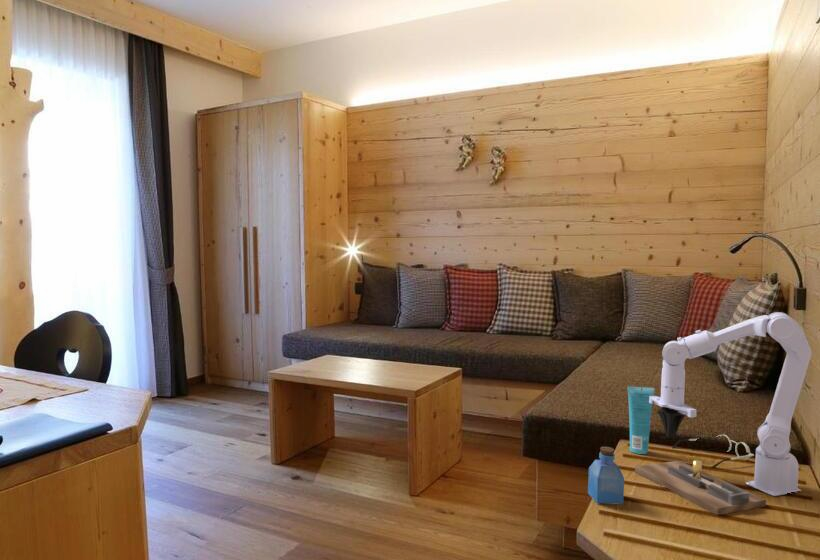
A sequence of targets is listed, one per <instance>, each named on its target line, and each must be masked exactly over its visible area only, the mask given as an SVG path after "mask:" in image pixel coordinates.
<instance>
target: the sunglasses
mask: <svg viewBox="0 0 820 560" xmlns="http://www.w3.org/2000/svg"><path fill="white" fill-rule="evenodd" d="M718 436H720V437H722V436H724V437H725V438H727V440H728V442H729V447H728V450H727V451H726V452H730V451H731V450H732V443H734V444H735V454H736V456H735V457H731V458H727V459H722V460H720V461H718V462H717V463H716V464H714V465H711V467H710V468H711V469H714V468H716V467H718V466H719V465H720V464H722V463H723V462H727V461H731V460H732V461H735V460H741V459H744V461H749V459H750V458H751V457H754V456H755V454H754V453H751V450H750V449H751V448H750V446H749V445H747V443H745V442H743V441H740V442H736V441H734V440H732V439H730V437H729V436H728V435H726V434H719V435H717V436H716V437H718ZM697 439H698V438H689V439H688V438H687V439H679V440H678V441H677V442H676V443H675V444H674V445H673V446H672V447H671V449H676V447H677V446H678V445H679V443H681V442H689V441H690V442H691V441H692V442H693V441H695V442H696V440H697ZM739 444H742V445H743V446H744V447H745V451H746V453H748V454H746V455H741V456H740V454H739V452H738V446H739Z"/></svg>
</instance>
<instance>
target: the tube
mask: <svg viewBox="0 0 820 560" xmlns="http://www.w3.org/2000/svg"><path fill="white" fill-rule="evenodd" d="M655 390H656V389H655V387H642V386H641V387H640V386H639V387H638V386H629V385H628V386H627V395H628V417H629V419H628V420H629V451H630V453H631V452H632V453H634V454H637V455H647V454H648V452H649V444H650V443H649V442H650V432H651V431H650V430H651V417H652V409H653V408H652V407H653V404H651V403H649V396H655Z"/></svg>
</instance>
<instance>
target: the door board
mask: <svg viewBox="0 0 820 560" xmlns="http://www.w3.org/2000/svg"><path fill="white" fill-rule="evenodd" d="M634 472H635V473H636V474H638V475H640V476H642V477H643V478H646V479H648V480H649V481H651V482H653V483H655V484H657V483H658V484H657V485H659V484H660V485H659V486H661V485H663V486H665V487H667V488H668V489H670V490H671V491H670V490H669V491H670V492H672V493H674V494H677V495H678V496H680V497H682V498H684V499H685V500H687V501H689V502H691V503H693V504H695V505H696V506H699V507H701V508H703V509H704V510H706V511H707V512H711V513H712V514H714V515H715V516H720V515H724V514H725V515H727V514H730V513H735V512H740V511H741V512H742V511H747V510H751V509H757V508H758V509H759V508H763V507H766V505H767V499H766V498H763V497H761V496H759V495H756V494H754V493H751V492H750V491H747V490H745V489H743V488H740V487H739V486H736V485H735V484H732V483H730V482H727V481H725V480H723V479H721V478H719V477H716V476H715V475H712V474H710V473H708V472H706V471H703V470H702V472H701V477H702V478H704V479H706V480H708V481H710V482H712V483H715V484H717V485H719V486H721V487H723V488H725V489H727V490H730V491H732V492H734V494H731V493H729V492H727V491H725V490H723V489H721V488H719V487H717V486H714V485H708V489H706V488H704V487H702V481H700V480H698V479H696V478H694V477H692V476H690V475H688V474H692V472H693V465H690V464H687V463H686V462H684V461H683V460H682V461H681V460H674V461H666V462H665V461H664V462H660V463H659V462H658V463H652V464H645V465H638V466H635V470H634ZM663 486H662V487H663ZM668 489H667V490H668Z"/></svg>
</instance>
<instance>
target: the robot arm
mask: <svg viewBox="0 0 820 560" xmlns="http://www.w3.org/2000/svg"><path fill="white" fill-rule="evenodd" d="M767 333H768V335H769V336H770V337H771V338H772V339H774V340H775V341H776V342H778V343H779V344H780V346H781V347H782V349H783V350H784V351H785V352H786V356H785V359H784V362H783V364H782V365H783V366H782V368H781V373H780V375H779V378H778V382H777V385H776V389H775V392H774V396H773V397H772V398H773V399H772V402H771V405H770V408H769V409H770V410H769V413H768V414H767V415H766V417H765V420H764V421H763V423H762V424H761V425H760V426H759V427H758V428H757V432H756V433H757V438H758V440H759V445H758V446H757V447H756V448H755V463H754V476H753V479H754V480H750V481H746V482H745V485H748V486H750V487H751V488H754V489H756V490H758V491H762V492H763V493H766V494H768V495H770V496H771V497H778V496H782V495H788V494H787V493H790V494H792V493H791V492H795V493H797V492H796V491H800V492H801V491H802V489H800V488H799V485H798V484H799V466H800V465H799V462H798V460H797V458H796V456H794V454H792V453H791V452H790V451H791V446H792V445H791V443H790V434H791V431H792V430H791V427H792V426H791V425H792V419H793V416H794V413H795V409H796V407H797V403H798V400H799V397H800V393H801V390H802V386H803V383H804V380H805V377H806V373H807V371H808V366H809V364H810V360H811V358H812V349H811V346H810V344H809V342H808V339H807V338H806V335H805V332H804V329H803V327H802V326H801V325H800V324H799V323H798V322H797V321H796V320H795V319H794V318H793V317H791V316H790V315H788V314H787V313H785V312H783V311H781V312H779V311H777V312H772V313H769V314H768V315H767V314H763V315H759V316H755V317H752V318H749V319H745V320H743V321H741V322H738V323H735V324H734V325H733V324H732V325H731V326H728V327H726V328H723V329H720V330H718V331H714V332H712V331H709V330H706V329H705V330H701V329H698V330H695V333H693V334H691V335H688V336H684V337H681V336H680V337H677V339H676V340H671V341H668V342H666V343H665V344H664V346H663V349H662V352H661V356H662V358H663V359H662V368H661V382H660V383H661V384H660V396H657V395H654V396H649V403H651V404H652V405H656V406H659V407H661V408H658V409H657V413H658V415H659V417H660V420H661V422H662V425H663V430H664V434H665V437H667V438H675V437H676V435H677V433H678V429H679V427H680V425H681V423H682V421H683V420H684V418H685V417H686V416H687V417H688V418H691V419H692V418H697V413H698V411H697V409H696V408H693V407H692V406H690V405H688V404H686V403H685V390H686V389H685V387H686V386H685V385H686V369H685V362H686V359H690V360H692V359H695V358H697V357H698V358H699V357H700V356H703V355H704V356H705V355H707V354H710V353H713V352H716V351H717V349H718V346H719V345H721V344H725V343H727V342H728V343H729V342H731V341H734V340H738V339H741V338H744V337H748V336H758V337H763V338H767Z"/></svg>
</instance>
